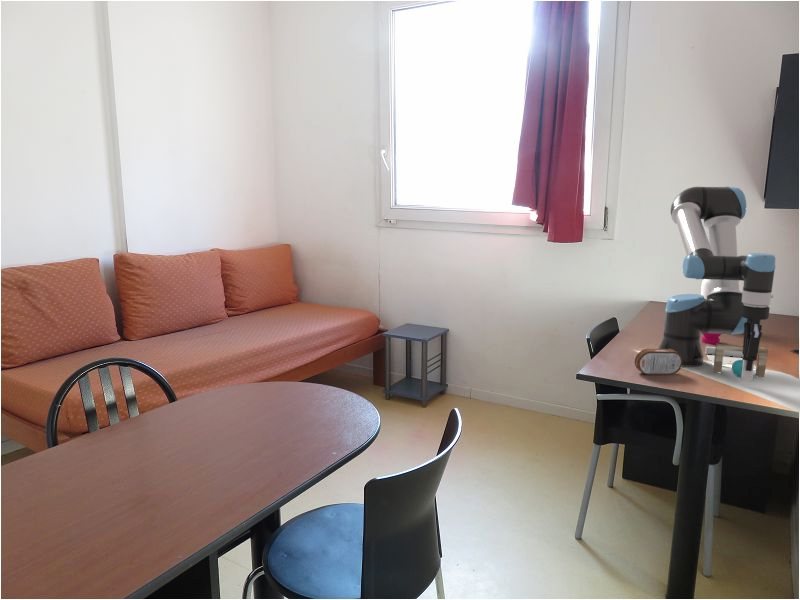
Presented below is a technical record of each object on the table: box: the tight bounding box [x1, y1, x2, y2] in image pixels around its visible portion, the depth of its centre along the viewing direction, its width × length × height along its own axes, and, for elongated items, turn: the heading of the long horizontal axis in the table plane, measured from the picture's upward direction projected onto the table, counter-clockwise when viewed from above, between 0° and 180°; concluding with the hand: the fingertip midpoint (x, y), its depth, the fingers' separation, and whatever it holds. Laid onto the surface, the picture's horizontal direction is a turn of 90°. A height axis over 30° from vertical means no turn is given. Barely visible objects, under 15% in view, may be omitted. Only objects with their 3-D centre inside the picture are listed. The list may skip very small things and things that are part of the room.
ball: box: [731, 360, 743, 378], centre depth 197 cm, size 6×6×6 cm
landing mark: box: [706, 354, 757, 369], centre depth 213 cm, size 14×14×1 cm
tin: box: [634, 348, 683, 376], centre depth 199 cm, size 15×3×8 cm, turn 92°
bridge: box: [712, 343, 769, 378], centre depth 200 cm, size 3×14×9 cm, turn 70°
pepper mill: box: [701, 333, 722, 345], centre depth 239 cm, size 7×7×20 cm
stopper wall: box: [704, 345, 744, 358], centre depth 222 cm, size 14×2×2 cm, turn 70°
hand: (746, 379), depth 188 cm, fingers closed
